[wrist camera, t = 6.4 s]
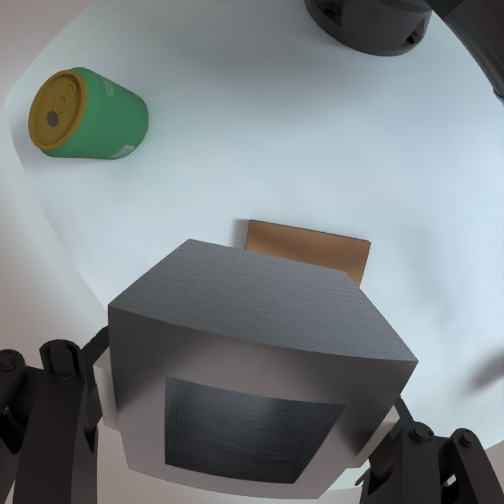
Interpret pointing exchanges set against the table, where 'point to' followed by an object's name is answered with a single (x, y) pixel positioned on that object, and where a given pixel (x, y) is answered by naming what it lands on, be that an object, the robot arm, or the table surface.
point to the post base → (309, 247)
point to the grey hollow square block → (250, 372)
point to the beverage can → (86, 117)
